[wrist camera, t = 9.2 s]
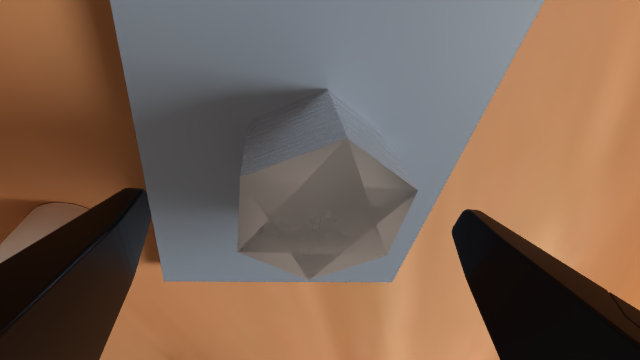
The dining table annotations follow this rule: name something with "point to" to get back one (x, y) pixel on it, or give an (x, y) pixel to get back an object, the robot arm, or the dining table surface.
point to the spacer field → (38, 226)
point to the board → (290, 86)
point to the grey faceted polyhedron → (319, 189)
